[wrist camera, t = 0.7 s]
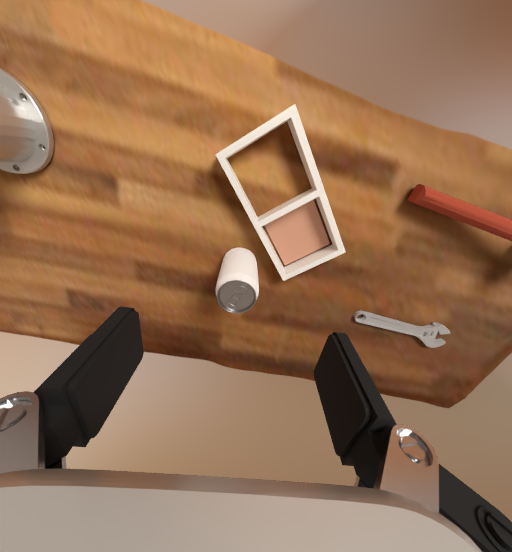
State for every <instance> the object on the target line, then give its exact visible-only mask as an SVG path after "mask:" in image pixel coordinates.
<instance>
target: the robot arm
mask: <svg viewBox="0 0 512 552" xmlns="http://www.w3.org/2000/svg"><path fill="white" fill-rule="evenodd" d="M53 150H54V139H53V133H52V129H51V125H50V123H49V121H48V118H47V116H46V114H45V112H44V110H43V109H42V107H41V105H40V104H39V102H38V101H37V100H36V98H35V97H34V96H33V94H32V93H31V92H30V91H29V90H28V89H27V88H26V87H25V86H24V85H23V84H22V83H21V82H20V81H19V80H17V79H16V78H15V77H14V76H13V75H11V74H10V73H8V72H6V71H5V70H3V69H2V68H0V169H1V170H4V171H7V172H10V173H16V174H29V173H35V172H38V171H40V170H42V169H43V168H45V167H46V166H47V165H48V163H49V162H50V161H51V158H52V155H53ZM142 357H143V345H142V337H141V329H140V321H139V314H138V312H135V309H134V308H128V307H119V308H117V310H116V311H115V312H114V313H113V314H112V315H111V316H110V317H109V318H108V319H107V320H106V321H105V322H104V323H103V324H102V325H101V326H100V327H99V328H98V329H97V330H96V331H95V332H94V333H93V334H91V335H90V336H89V337H88V338H87V339H86V340H85V341H84V342H83V343H82V344H81V345H80V346H79V347H78V348H77V349H76V350H75V351H74V352H73V353H72V354H71V355H70V356H69V357H68V358H67V359H66V360H65V361H64V362H63V363H62V364H61V365H60V366H59V367H58V368H57V369H56V370H55V371H54V372H53V373H52V374H51V375H50V376H49V377H48V378H47V379H46V380H45V381H44V382H43V383H42V384H41V386H40V387H39V388H37V390H35V391H34V393H33V392H27V391H26V392H17V393H14V394H10V395H7V396H5V397H3V398H1V399H0V552H512V522H511V521H510V520H509V519H508V518H507V517H506V516H505V515H503V514H502V513H501V512H500V511H499V510H498V509H496V508H495V507H494V506H493V505H491V504H490V503H489V502H487V501H486V500H485V499H483V498H482V497H481V496H480V495H478V494H477V493H476V492H475V491H473V490H472V489H471V488H469V487H468V486H467V485H466V484H464V483H463V482H462V481H460V480H459V479H458V478H457V477H455V476H454V475H453V474H451V473H450V472H449V471H448V470H446V469H445V468H443V467H442V466H441V465H440V464H439V462H438V457H437V455H436V453H435V451H434V449H433V447H432V446H431V445H430V443H429V442H428V441H427V440H426V439H425V438H424V436H423V435H421V434H420V433H419V432H418V431H416V430H415V429H413V428H411V427H410V426H407V425H404V424H396V423H395V421H394V419H393V417H392V415H391V413H390V411H389V410H388V408H387V406H386V404H385V402H384V401H383V399H382V397H381V395H380V393H379V391H378V390H377V388H376V386H375V384H374V382H373V381H372V379H371V377H370V375H369V373H368V372H367V370H366V368H365V366H364V365H363V363H362V361H361V359H360V358H359V356H358V354H357V352H356V350H355V348H354V347H353V345H352V343H351V341H350V339H349V338H348V336H347V334H345V333H337V332H333V333H332V335H329V336H328V339H327V341H326V343H325V346H324V348H323V350H322V353H321V355H320V358H319V360H318V362H317V365H316V367H315V370H314V378H315V382H316V385H317V389H318V392H319V396H320V400H321V403H322V406H323V410H324V414H325V417H326V421H327V424H328V428H329V431H330V435H331V439H332V442H333V446H334V449H335V452H336V454H337V455H338V456H340V459H341V462H342V465H349V466H354V468H355V471H356V474H357V477H356V481H355V484H354V486H343V485H332V484H319V483H305V482H290V481H276V480H260V479H245V478H229V477H212V476H197V475H180V474H163V473H145V472H128V471H110V470H84V469H83V470H82V469H66V457H65V456H66V455H67V454H68V453H69V451H70V450H71V448H72V447H73V446H77V447H86V445H87V444H88V442H89V440H90V439H91V438H94V437H95V436H96V435H97V434H98V432H99V431H100V429H101V428H102V426H103V424H104V422H105V421H106V419H107V417H108V416H109V414H110V412H111V410H112V409H113V407H114V405H115V404H116V402H117V400H118V399H119V397H120V395H121V394H122V392H123V390H124V389H125V387H126V385H127V383H128V382H129V380H130V378H131V376H132V375H133V373H134V372H135V370H136V368H137V366H138V365H139V363H140V361H141V360H142Z"/></svg>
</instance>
